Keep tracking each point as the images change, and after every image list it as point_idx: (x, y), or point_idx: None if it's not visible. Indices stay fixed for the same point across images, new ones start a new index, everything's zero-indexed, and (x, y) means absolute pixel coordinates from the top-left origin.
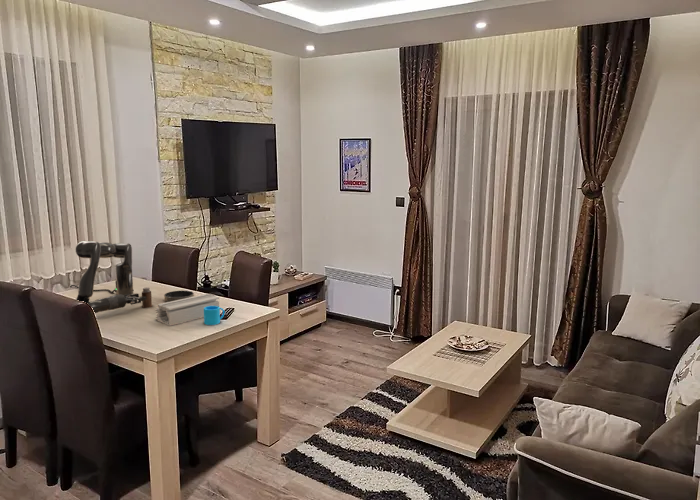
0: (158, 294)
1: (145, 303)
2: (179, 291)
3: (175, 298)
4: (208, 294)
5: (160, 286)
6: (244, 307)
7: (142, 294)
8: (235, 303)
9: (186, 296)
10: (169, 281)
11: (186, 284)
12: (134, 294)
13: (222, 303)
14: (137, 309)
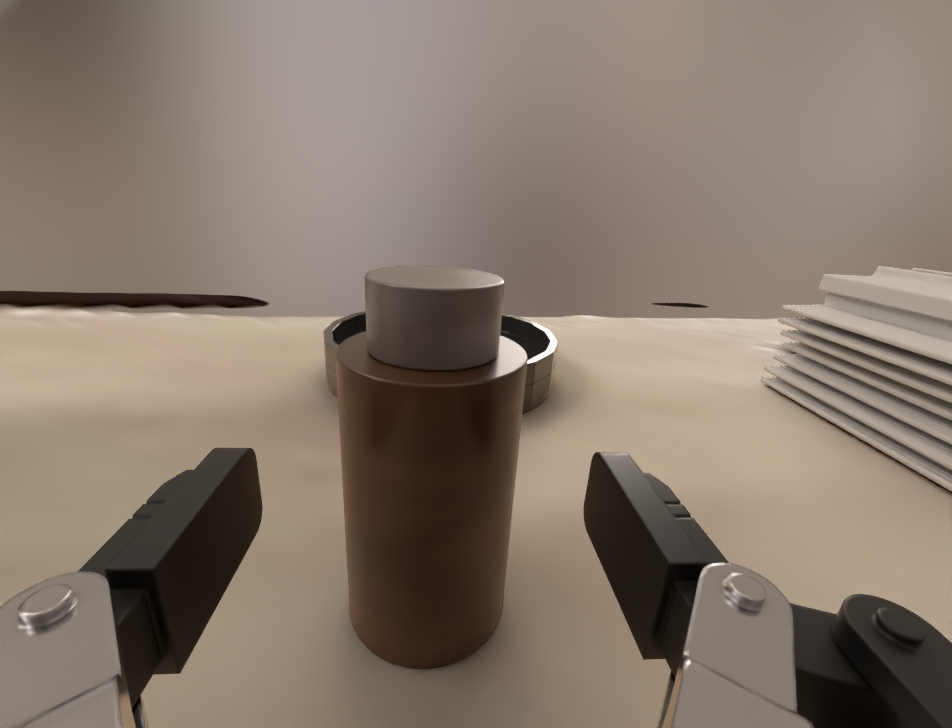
0: (158, 378)
1: (488, 581)
2: (364, 318)
3: (537, 367)
4: (910, 270)
5: (33, 324)
6: None
7: (440, 432)
8: (699, 327)
9: (548, 335)
10: (44, 294)
11: (203, 295)
12: (193, 518)
13: (677, 338)
14: None
